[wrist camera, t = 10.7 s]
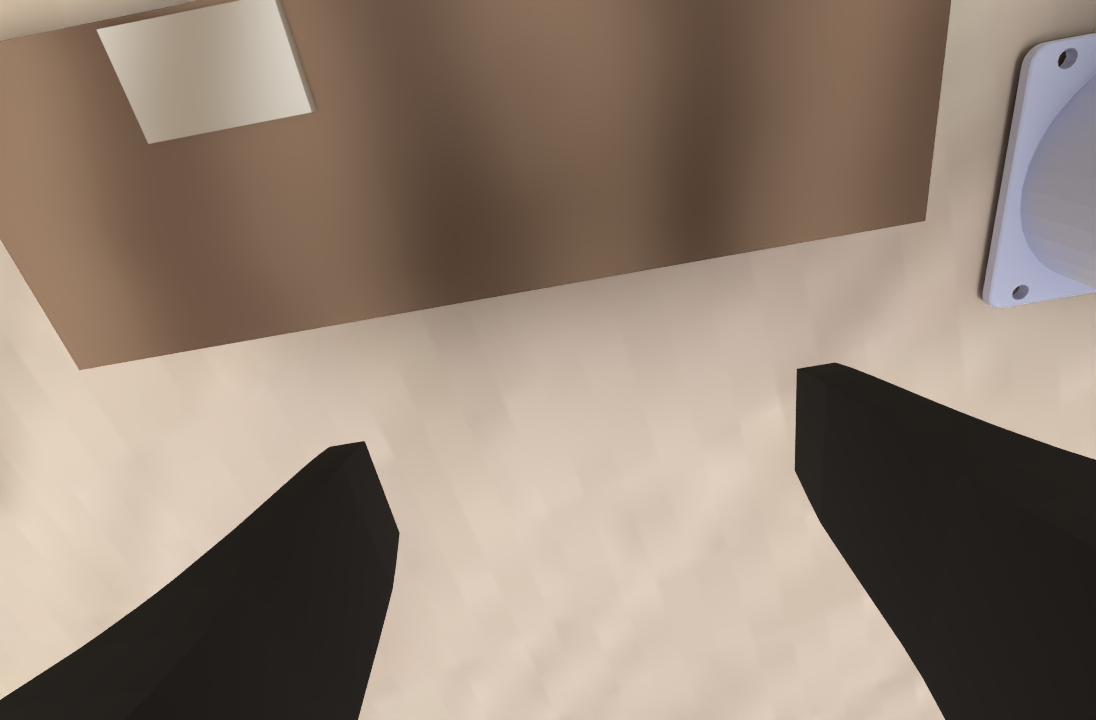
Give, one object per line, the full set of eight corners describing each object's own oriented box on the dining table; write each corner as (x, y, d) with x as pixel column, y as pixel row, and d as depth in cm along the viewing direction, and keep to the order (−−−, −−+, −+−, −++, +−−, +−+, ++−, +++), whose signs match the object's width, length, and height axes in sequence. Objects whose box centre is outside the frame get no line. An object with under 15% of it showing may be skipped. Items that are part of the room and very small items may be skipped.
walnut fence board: (889, -117, 15) (982, -164, 12) (867, 198, 19) (934, 224, 16) (-1, 63, 16) (-124, 63, 13) (140, 328, 20) (69, 376, 17)
